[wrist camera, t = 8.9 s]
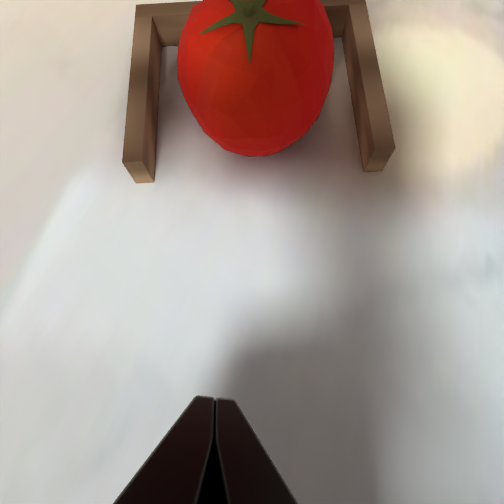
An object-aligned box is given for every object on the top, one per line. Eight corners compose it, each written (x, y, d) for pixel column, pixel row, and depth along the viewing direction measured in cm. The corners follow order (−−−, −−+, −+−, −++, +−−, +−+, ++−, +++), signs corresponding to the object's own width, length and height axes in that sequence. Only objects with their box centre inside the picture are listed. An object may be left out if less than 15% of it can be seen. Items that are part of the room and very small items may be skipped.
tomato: (315, 60, 27) (338, -71, 19) (332, 179, 24) (367, 81, 16) (193, 67, 27) (164, -60, 19) (191, 187, 24) (156, 93, 16)
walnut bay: (381, 170, 24) (395, 148, 21) (135, 183, 24) (122, 162, 22) (354, 24, 28) (363, -9, 26) (146, 35, 28) (136, 4, 26)
